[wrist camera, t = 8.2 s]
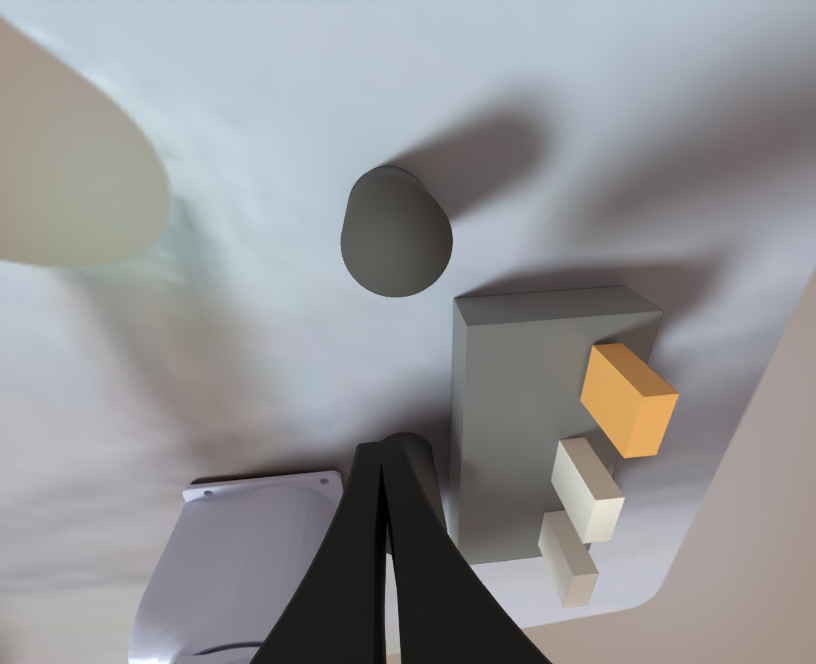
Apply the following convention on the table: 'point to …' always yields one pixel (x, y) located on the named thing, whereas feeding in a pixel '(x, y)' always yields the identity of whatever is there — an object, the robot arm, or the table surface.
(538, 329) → the block
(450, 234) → the dark grey cylinder
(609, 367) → the block
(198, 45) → the table surface
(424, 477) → the grey short cylinder
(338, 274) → the table surface
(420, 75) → the table surface
